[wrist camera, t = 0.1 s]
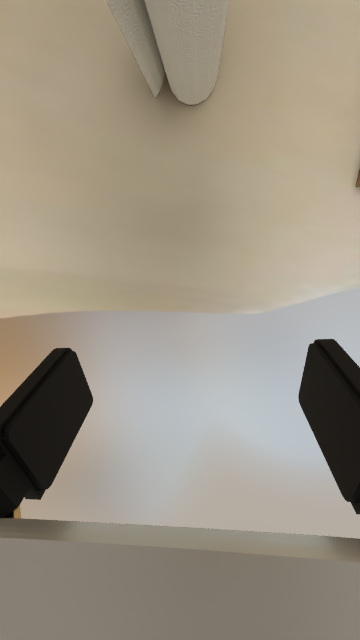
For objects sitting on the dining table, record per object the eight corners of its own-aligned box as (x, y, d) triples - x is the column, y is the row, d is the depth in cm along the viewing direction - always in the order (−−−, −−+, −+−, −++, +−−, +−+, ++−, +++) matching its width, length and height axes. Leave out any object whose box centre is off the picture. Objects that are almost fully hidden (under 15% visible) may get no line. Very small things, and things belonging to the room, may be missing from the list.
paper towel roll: (224, 41, 26) (282, -320, 8) (211, 111, 29) (230, -28, 11) (161, 27, 26) (65, -375, 8) (154, 98, 29) (73, -64, 10)
